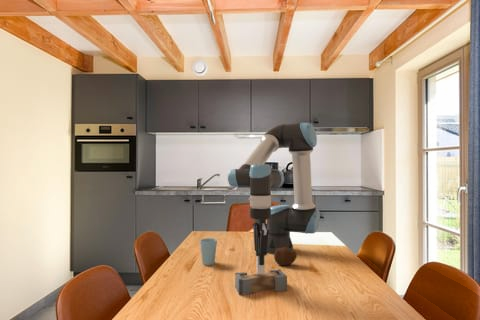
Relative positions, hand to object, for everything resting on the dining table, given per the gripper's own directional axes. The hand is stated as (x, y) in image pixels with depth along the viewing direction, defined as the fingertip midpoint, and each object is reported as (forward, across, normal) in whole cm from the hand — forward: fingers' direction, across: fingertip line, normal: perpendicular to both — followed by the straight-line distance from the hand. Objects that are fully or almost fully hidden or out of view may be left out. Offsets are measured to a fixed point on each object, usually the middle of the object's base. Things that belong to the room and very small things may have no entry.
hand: (260, 273), depth 112 cm
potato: (+6, -23, +18) cm, 30 cm away
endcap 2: (+6, 0, +6) cm, 9 cm away
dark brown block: (+6, 0, 0) cm, 6 cm away
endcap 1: (+6, 0, -6) cm, 9 cm away
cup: (+6, -33, -15) cm, 37 cm away
